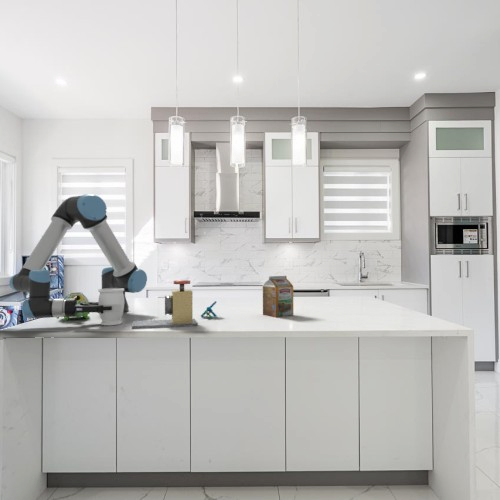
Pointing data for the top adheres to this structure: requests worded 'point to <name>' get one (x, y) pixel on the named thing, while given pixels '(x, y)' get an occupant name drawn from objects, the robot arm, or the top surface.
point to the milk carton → (278, 297)
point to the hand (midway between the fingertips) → (121, 306)
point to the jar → (110, 298)
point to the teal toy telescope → (209, 311)
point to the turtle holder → (79, 298)
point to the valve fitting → (173, 310)
